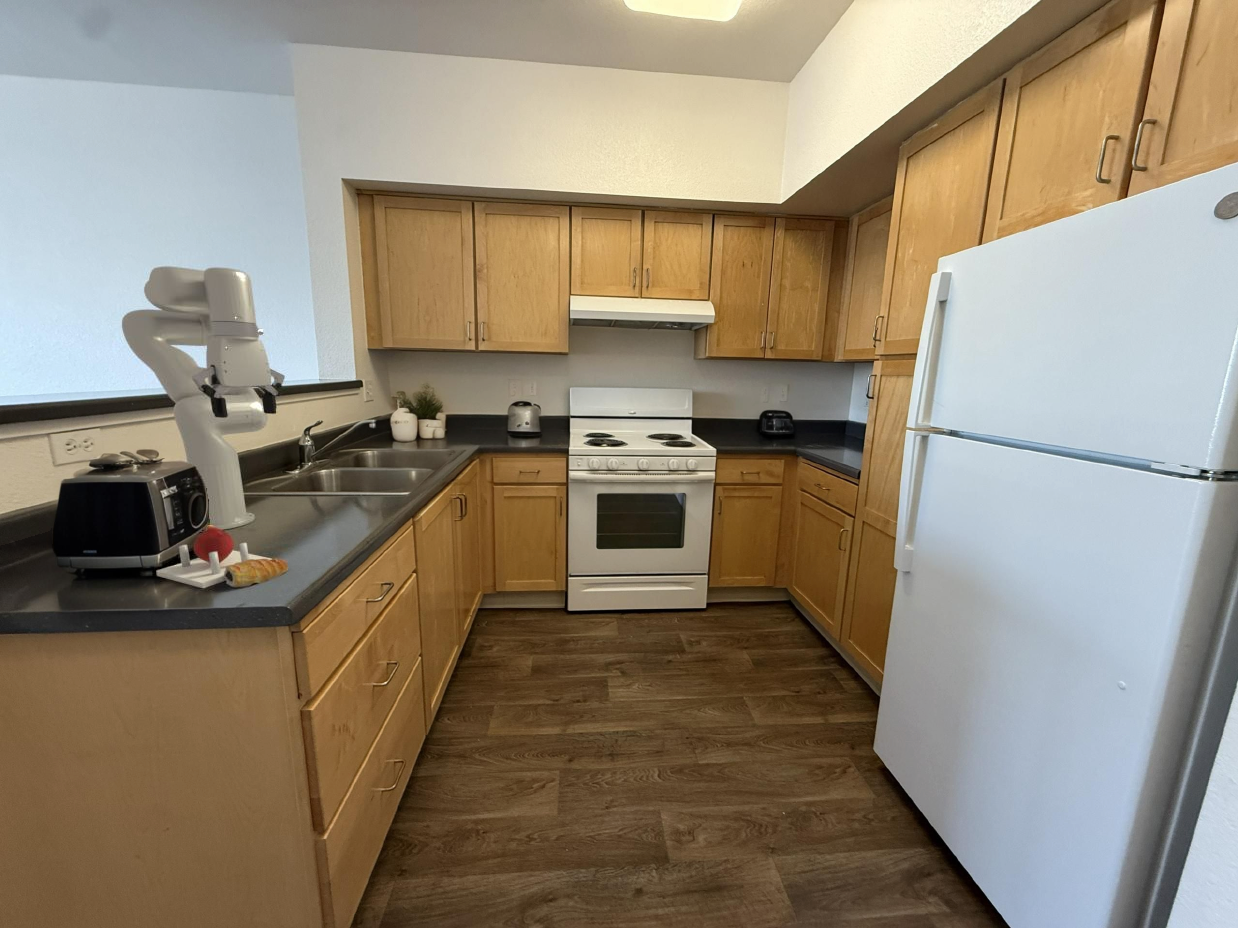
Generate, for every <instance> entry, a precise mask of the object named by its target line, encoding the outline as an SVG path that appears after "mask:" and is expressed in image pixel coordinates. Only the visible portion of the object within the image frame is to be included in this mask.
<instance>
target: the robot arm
mask: <svg viewBox="0 0 1238 928" xmlns="http://www.w3.org/2000/svg"><path fill="white" fill-rule="evenodd" d="M143 288H144V289H143V293H144V295H145V298H146V299H147V301H149V303H150V304H151V305H152V306H153V307H155V308H158V309H152V308H151V309H149V308H147V309H137V310H132V311H129V312H127V313H126V314H124V316H123V317H122V320H121V329H122V333H123V336H124V338H125V341H126V342H127V344H128V346H129V348H130V349H131V350H132V352H133V353H134V354H135V356H136V357H137V358H138V359H139V360H140V361H141V362H142V363H143V364H145V365H146V366H147V367H148V368H149V369H150V370H151V371H152V372H153V373H154V375H155V376H156V378H157V380H158V382H159V383H160V385H161V386H162V389H164V391H165V392H166V394H167V396H168V397H169V398H170V400H172V401H173V402H174V403H175V405H174V407H173V411H172V412H173V418H174V421H175V423H176V426H177V429H178V430H179V434H180V437H181V440H182V442H183V447H184V451H185V456H186V457H185V458H186V461H187V462H188V463H190V464H192V465H194V466H196V467H197V469H198V471H199V473H200V475H201V476H202V479H203V481H204V483H205V486H206V488H207V494H208V499H209V519H210V525H212V526H214V527H216V528H218V529H221V530H223V531H224V530H229V529H233V528H238V527H242V526H245V525H248V524H251V523H252V522H253V521H255V519H256V517H255V513H252V512H247V509H246V508H247V507H246V503H245V494H244V487H243V480H242V475H241V467H240V461H239V456H238V455H239V454H238V452H237V450H236V449H235V447H234V446H233V445H232V444H231V443H229V442H228V441H227V440H226V439H224V438H223V436H226V435H233V434H234V435H235V434H244V433H246V434H247V433H254V432H258V431H261V430H263V429H264V428H265V427H266V426H267V424H268V417H269V415H268V414H272V415H274V414H275V415H276V414H277V401H276V400H277V399H276V396H277V395H278V394H279V392H280V390H282V387H283V384H284V381H285V378H286V377H285V375H284V374H282V373H280V372H278V371H276V370H274V369H272V368H271V367H270V363H269V359H268V356H267V352H266V351H267V350H266V348H265V346H264V343H263V341H262V340H260V339H259V338H260V337H259V336H263V334H264V331H263V330H264V329H262V328H259V327H258V324H257V319H256V318H257V317H256V310H255V303H254V302H255V301H254V293H253V287H252V281H251V278H250V276H249V274H248V273H246V272H245V271H243V270H241V269H235V268H229V267H208V268H206V269H205V270H203V269H194V268H186V267H178V266H171V265H170V266H167V265H165V266H158V267H154V268H153V269H151V272H150V274H149V278H148V280H147V282H146V283H145V284H144V287H143ZM175 346H187V347H188V346H191V347H192V346H195V347H206V352H205V354H206V357H205V360H206V367H201V366H199V365H198V363H197V362H196V361H195V359H194V358H193V357H192V356H190V354H189V353H186V352H185V351H184V350H182V349H179V348H177V347H175ZM272 378H273V383H272ZM254 388H258V389H259V390H260V392H262V393H263V394H262V396H261V398H260V396H259V394H257V392H256V390H255V389H254ZM188 463H187V464H188Z"/></svg>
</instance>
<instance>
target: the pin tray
mask: <svg viewBox="0 0 1238 928" xmlns="http://www.w3.org/2000/svg"><path fill="white" fill-rule="evenodd" d="M238 547H239V550H234V549H233V550H232V552H231V553H230V555H229V556H228V557H227V558H226V559H224V560H223V561H222V562H220V563H219V559H218V553H217V552H210V553H209V558H210V563H209V562H206V561H204V560H202V559H200V558H199V557H197V558H193V559H190V553H189V548H188V544H181V545H179V546H178V551H179V555H180V563H177V564H175V565H171V566H167V567H164V568H161V569H157V570H156V577H160V578H165V579H166V580H172V581H175V582H178V583H183V584H186V585H190V586H194V587H196V588H201V589H206V588H208V587H211V586H214V585H216V584H220V583H222V582H225V581H226V580H225V579H224V572H225V570H226V566H229V565H234V564H235V563H238V562H246V561H247V560H250V559H254V560H257V559H269V560H272V559H273V558H270V557H265V556H260V555H256V554H253V553H249V551H248V544H247V542H241V543H239V544H238ZM226 582H227V581H226Z"/></svg>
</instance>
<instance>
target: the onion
mask: <svg viewBox="0 0 1238 928" xmlns="http://www.w3.org/2000/svg"><path fill="white" fill-rule="evenodd" d="M234 546H235V543H234V540H233V538H232V536H231V535H230V533H228V532H226V531H224V530H221V529H218V528H216V527H214V526H212V525H206V530H205V531H201V533H200V534H199V535H198V536H197V537H196V539H195V541H194V544H193V552H194V554H195V556H197V558H200V559H202V560H204V561H206V562H209V563H210V558H209V553H210V552H217V553H218V559H219V563H220V562H222V561H223V560H224V559H226V558H227V557H228V556H229V555H230V553H231V552H232V550H234V548H235V547H234Z"/></svg>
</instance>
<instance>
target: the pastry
mask: <svg viewBox="0 0 1238 928" xmlns="http://www.w3.org/2000/svg"><path fill="white" fill-rule="evenodd" d="M271 559H272V560H269V559H257V560H254V559H250V560H247V561H246V562H238V563H235V564H234V565H229V566H226V570H225V572H224V579H225V580H226V583H225V584H227V585H229V586H230V587H232V588H246V587H249V586H251V585H253V584H261V583H264V582H265V581H270V580H272V579H274V578H278V577H279V576H282V575H283V574H284V573H286V572H287V571H288V570H289V564H288V563H287V561H286V560H285V559H281V558H271Z"/></svg>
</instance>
